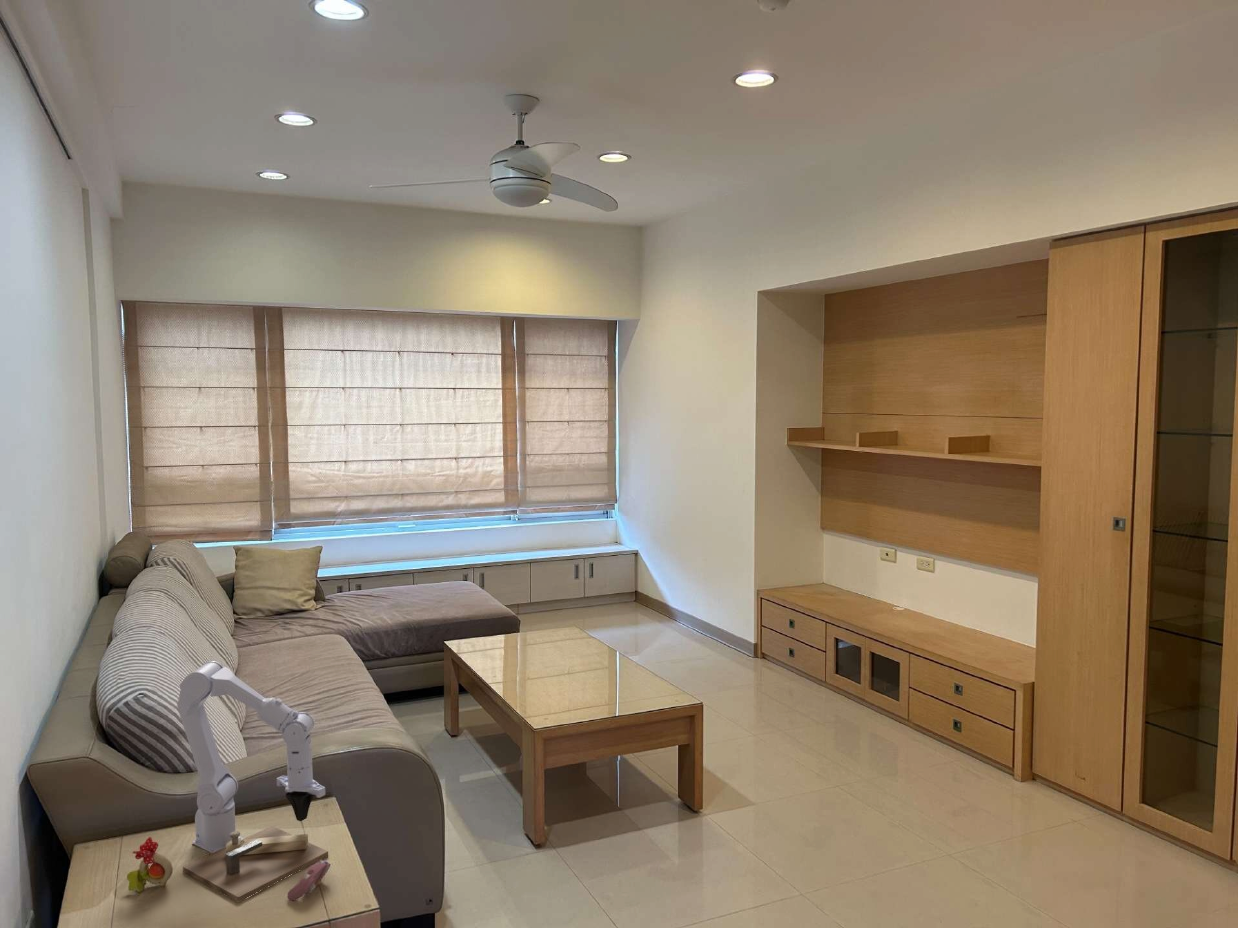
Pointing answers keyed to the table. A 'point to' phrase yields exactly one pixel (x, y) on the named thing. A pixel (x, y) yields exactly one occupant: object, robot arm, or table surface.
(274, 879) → the walnut board
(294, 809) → the robot arm
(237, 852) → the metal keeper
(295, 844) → the wooden link
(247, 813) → the table surface
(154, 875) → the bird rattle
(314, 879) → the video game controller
